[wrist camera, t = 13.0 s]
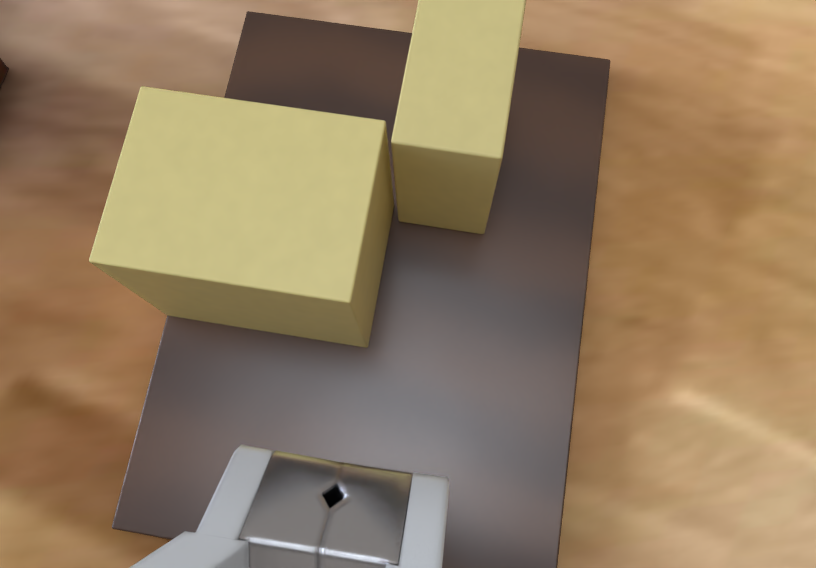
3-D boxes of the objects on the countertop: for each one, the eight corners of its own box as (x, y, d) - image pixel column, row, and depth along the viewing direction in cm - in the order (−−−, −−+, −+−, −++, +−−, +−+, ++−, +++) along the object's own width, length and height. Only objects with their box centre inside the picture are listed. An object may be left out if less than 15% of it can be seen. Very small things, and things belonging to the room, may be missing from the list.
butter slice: (484, 235, 29) (502, 158, 22) (397, 221, 29) (390, 142, 23) (504, 102, 31) (527, -7, 24) (422, 91, 31) (422, -21, 24)
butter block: (368, 348, 28) (350, 303, 21) (166, 315, 29) (87, 261, 22) (394, 204, 30) (386, 119, 23) (203, 175, 30) (140, 84, 23)
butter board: (548, 604, 26) (552, 609, 25) (121, 527, 27) (110, 528, 26) (605, 72, 32) (610, 59, 31) (251, 24, 33) (246, 10, 32)
